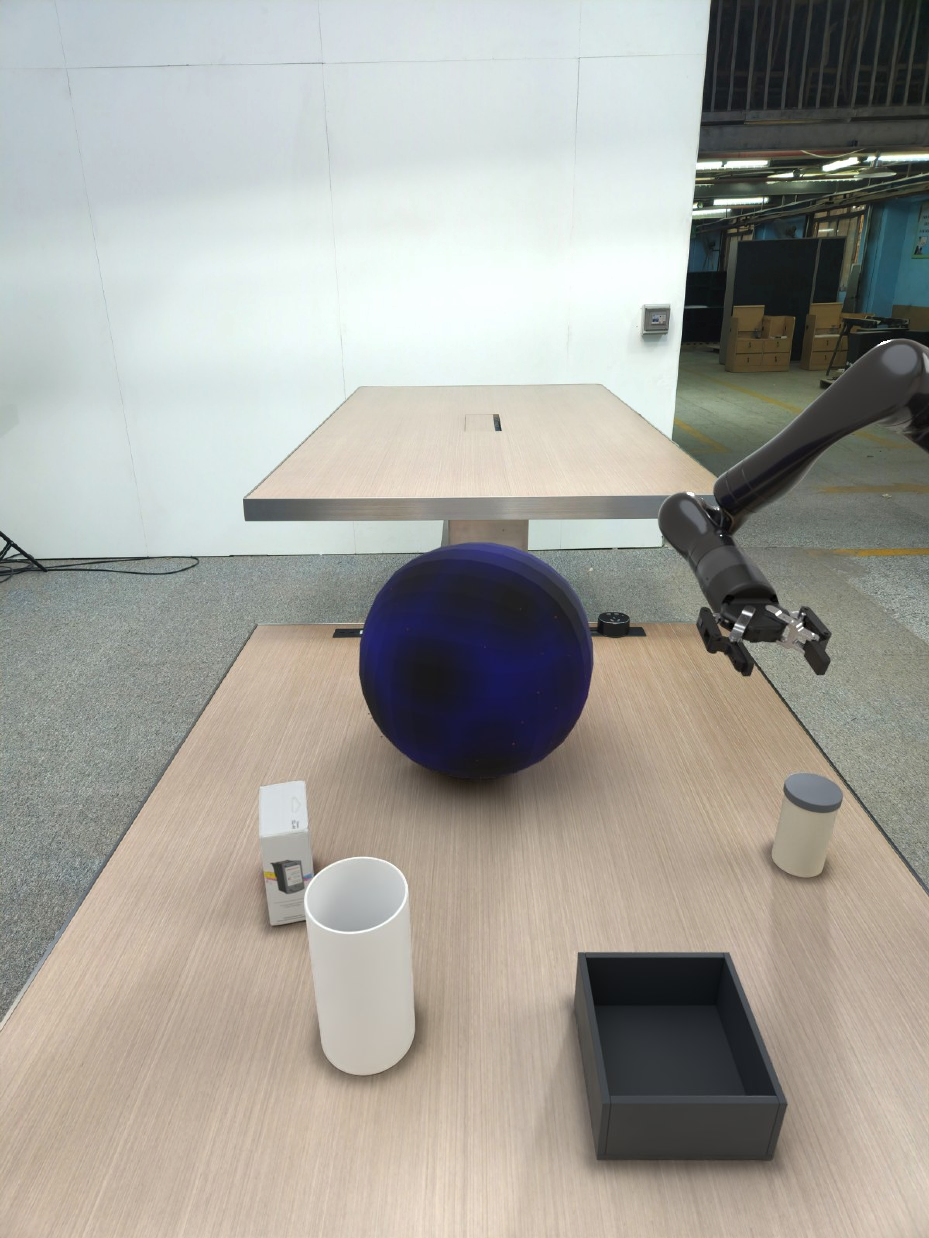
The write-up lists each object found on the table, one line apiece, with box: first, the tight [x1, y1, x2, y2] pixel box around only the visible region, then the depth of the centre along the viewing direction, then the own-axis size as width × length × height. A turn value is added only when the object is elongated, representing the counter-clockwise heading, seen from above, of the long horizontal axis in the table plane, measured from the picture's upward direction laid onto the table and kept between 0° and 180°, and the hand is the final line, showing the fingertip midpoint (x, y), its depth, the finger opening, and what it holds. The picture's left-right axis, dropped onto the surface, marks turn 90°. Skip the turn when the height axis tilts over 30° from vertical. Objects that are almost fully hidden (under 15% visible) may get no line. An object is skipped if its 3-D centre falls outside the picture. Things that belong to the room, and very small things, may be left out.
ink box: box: [258, 779, 315, 926], centre depth 78 cm, size 9×5×12 cm, turn 14°
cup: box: [304, 856, 416, 1076], centre depth 63 cm, size 8×8×16 cm
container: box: [771, 771, 844, 879], centre depth 83 cm, size 6×6×10 cm
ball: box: [358, 529, 595, 780], centre depth 99 cm, size 35×31×30 cm
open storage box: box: [573, 951, 789, 1161], centre depth 61 cm, size 13×13×7 cm
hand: (787, 670), depth 83 cm, fingers open, 8 cm apart
